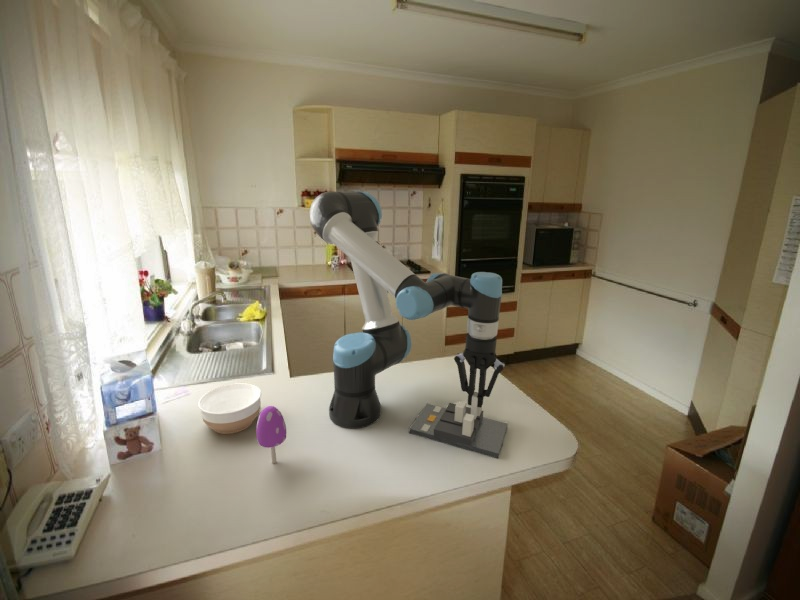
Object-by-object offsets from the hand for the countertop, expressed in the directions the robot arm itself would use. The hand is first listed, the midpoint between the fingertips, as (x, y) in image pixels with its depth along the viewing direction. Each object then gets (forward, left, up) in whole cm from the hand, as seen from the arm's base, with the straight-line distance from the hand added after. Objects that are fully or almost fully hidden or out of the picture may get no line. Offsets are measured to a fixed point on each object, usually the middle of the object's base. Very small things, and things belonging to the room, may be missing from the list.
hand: (474, 415), depth 104 cm
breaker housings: (-4, 0, -4) cm, 6 cm away
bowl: (-62, -24, -6) cm, 67 cm away
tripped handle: (-4, 0, -2) cm, 4 cm away
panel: (-4, 0, -6) cm, 7 cm away
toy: (-41, -32, -6) cm, 52 cm away
